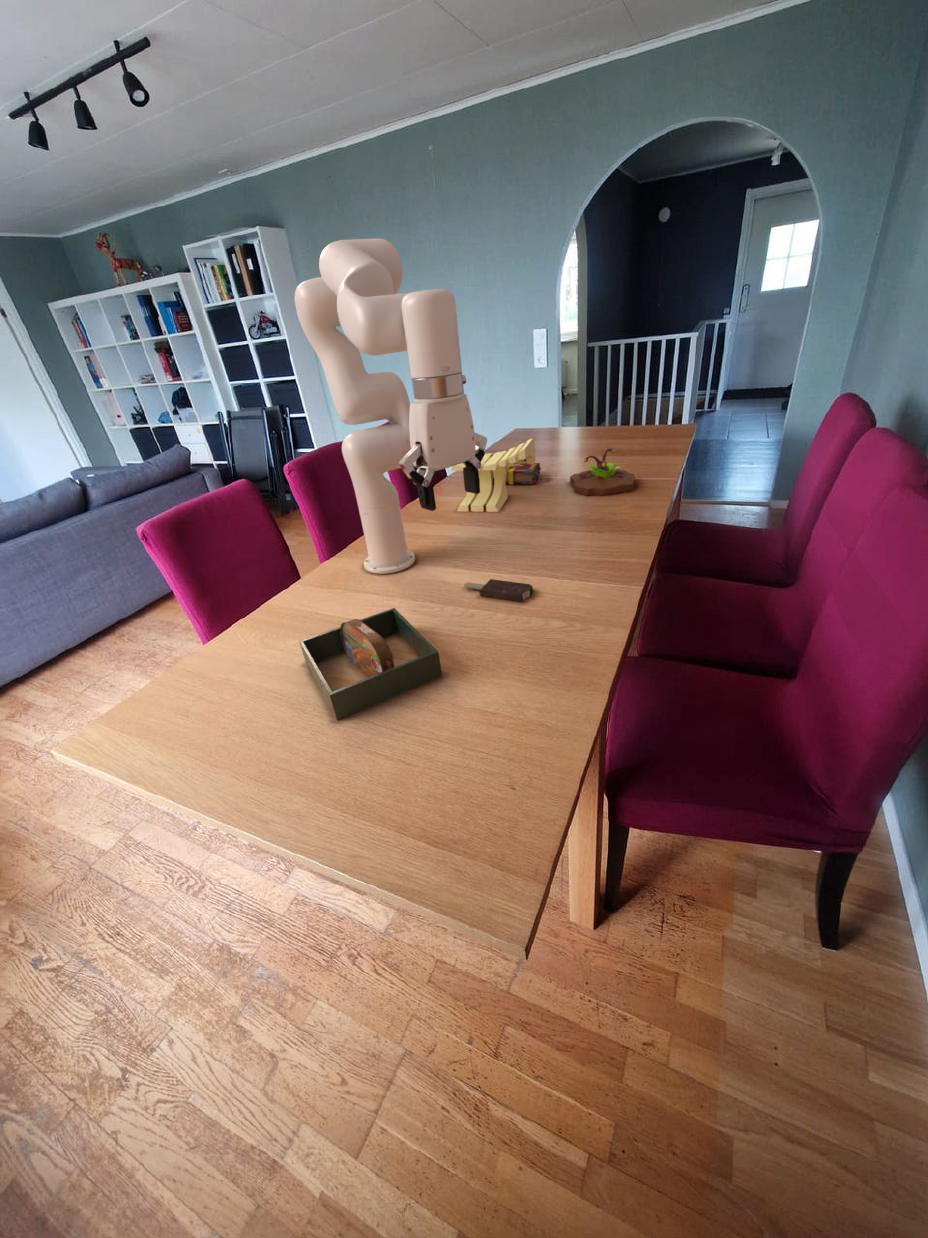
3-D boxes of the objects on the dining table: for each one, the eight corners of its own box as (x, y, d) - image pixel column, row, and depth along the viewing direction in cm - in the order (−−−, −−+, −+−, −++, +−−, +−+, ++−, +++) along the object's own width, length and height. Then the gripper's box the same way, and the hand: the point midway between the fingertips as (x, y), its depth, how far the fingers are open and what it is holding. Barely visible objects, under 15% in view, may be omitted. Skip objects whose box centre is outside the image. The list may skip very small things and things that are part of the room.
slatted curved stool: (536, 494, 161) (534, 435, 152) (527, 511, 148) (524, 448, 139) (446, 494, 170) (439, 439, 160) (430, 511, 157) (422, 452, 148)
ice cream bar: (459, 593, 109) (525, 603, 103) (458, 586, 108) (525, 596, 102) (470, 582, 113) (534, 591, 107) (469, 575, 112) (534, 584, 106)
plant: (643, 492, 153) (647, 453, 147) (577, 497, 154) (578, 460, 148) (626, 473, 170) (628, 438, 164) (567, 479, 171) (567, 444, 165)
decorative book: (499, 475, 183) (498, 460, 181) (543, 475, 178) (543, 460, 175) (490, 484, 174) (488, 469, 172) (536, 485, 169) (536, 469, 166)
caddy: (306, 664, 92) (299, 641, 89) (398, 630, 99) (394, 607, 96) (337, 720, 78) (329, 695, 75) (442, 676, 85) (438, 651, 82)
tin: (344, 655, 93) (333, 616, 88) (359, 648, 94) (350, 609, 90) (385, 694, 82) (375, 651, 78) (401, 685, 84) (393, 643, 79)
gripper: (464, 379, 83) (473, 483, 92) (375, 397, 74) (395, 511, 82) (497, 379, 78) (503, 489, 87) (406, 399, 69) (424, 520, 77)
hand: (451, 500), depth 85 cm, fingers open, 9 cm apart
